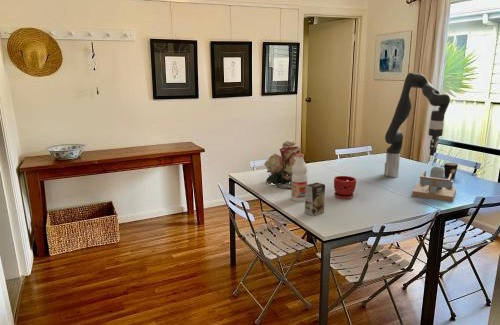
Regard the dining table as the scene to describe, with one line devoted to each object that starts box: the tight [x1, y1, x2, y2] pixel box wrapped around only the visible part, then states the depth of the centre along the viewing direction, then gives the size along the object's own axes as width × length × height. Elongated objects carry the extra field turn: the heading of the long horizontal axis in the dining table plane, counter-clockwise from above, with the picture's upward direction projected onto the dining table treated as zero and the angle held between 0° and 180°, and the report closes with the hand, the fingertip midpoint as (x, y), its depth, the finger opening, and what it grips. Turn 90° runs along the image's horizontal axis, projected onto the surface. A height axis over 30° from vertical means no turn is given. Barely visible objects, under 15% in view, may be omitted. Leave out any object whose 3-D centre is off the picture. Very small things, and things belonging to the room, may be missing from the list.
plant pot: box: [333, 175, 357, 200], centre depth 224 cm, size 13×13×12 cm
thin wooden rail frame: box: [419, 169, 452, 188], centre depth 226 cm, size 16×17×5 cm
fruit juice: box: [290, 152, 308, 202], centre depth 219 cm, size 9×9×28 cm
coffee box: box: [304, 182, 326, 217], centre depth 198 cm, size 9×6×16 cm
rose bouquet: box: [263, 140, 306, 189], centre depth 250 cm, size 26×29×30 cm
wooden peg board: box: [411, 165, 457, 202], centre depth 225 cm, size 22×21×17 cm
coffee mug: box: [439, 161, 459, 180], centre depth 261 cm, size 12×9×10 cm
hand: (432, 154), depth 223 cm, fingers open, 8 cm apart
